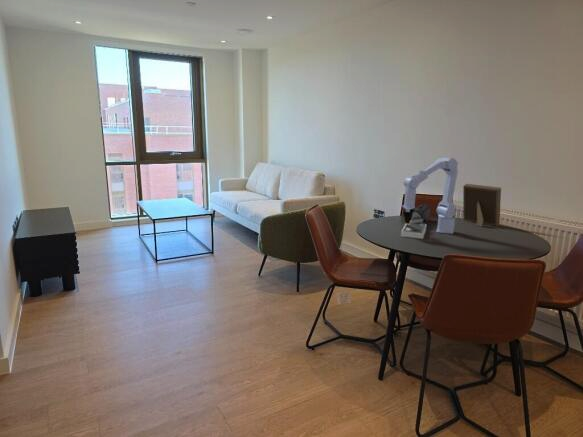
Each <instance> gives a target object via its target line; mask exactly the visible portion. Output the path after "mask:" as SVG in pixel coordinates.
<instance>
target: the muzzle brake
mask: <svg viewBox="0 0 583 437" xmlns="http://www.w3.org/2000/svg"><path fill="white" fill-rule="evenodd" d="M430 214H431V207H429V206H428V205H427V204H420V205H418V206H417V207H415V210H414V212H413V214H412V218H411V220H417V219H423V221H424V220H425V219H426V218H428V217H429V215H430Z"/></svg>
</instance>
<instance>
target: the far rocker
mask: <svg viewBox="0 0 583 437" xmlns="http://www.w3.org/2000/svg"><path fill="white" fill-rule="evenodd" d="M423 221H424V220H423V219H417V220H411V221H410V222H412V223H414V224H417V225H419V224H422V223H423Z"/></svg>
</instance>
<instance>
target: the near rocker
mask: <svg viewBox="0 0 583 437" xmlns="http://www.w3.org/2000/svg"><path fill="white" fill-rule="evenodd" d="M406 227H407V228H410V229H413V230H416V231H418V232H420V230H421V227H422V226H420V225H417V224H414V223H412V222H410V223H409V224H407V225H406Z"/></svg>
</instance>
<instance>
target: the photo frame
mask: <svg viewBox="0 0 583 437" xmlns="http://www.w3.org/2000/svg"><path fill="white" fill-rule="evenodd" d="M462 188H463V190H462V191H463V197H462V198H463V201H462V202H463V203H462V204H463V207H462V208H463V209H462V210H463V211H462V212H463V215H462V216H463V217H462V221H466V222H472V223H476V222H477V223H476V225H477V226H479V227H482V228H483V225H487V224H489V226H493V225H498V226H499V225H500V222H501V199H502V198H501V197H502V187H498V186H491V185H490V186H489V185H483V184H481V185H480V184H473V183H472V184H471V183H465V184H464V185H463V187H462ZM483 223H484V224H483Z"/></svg>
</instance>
